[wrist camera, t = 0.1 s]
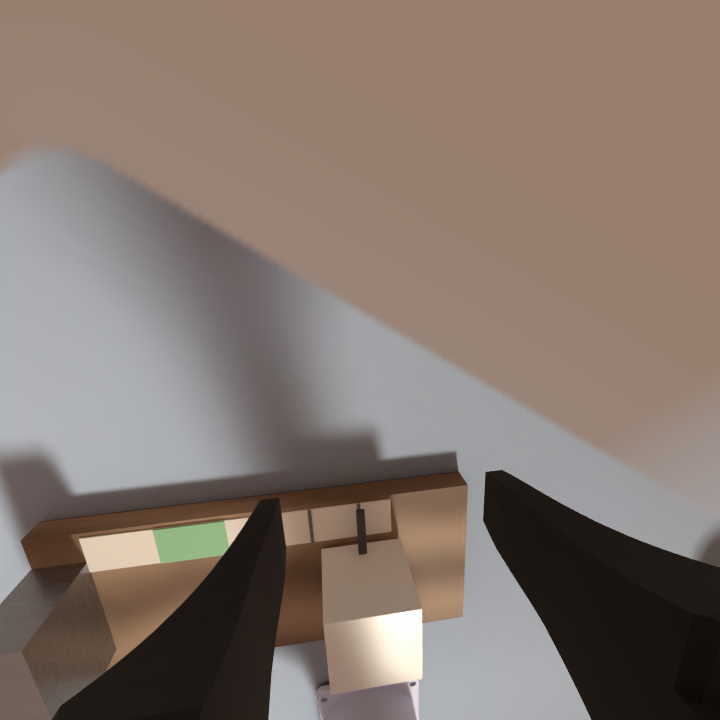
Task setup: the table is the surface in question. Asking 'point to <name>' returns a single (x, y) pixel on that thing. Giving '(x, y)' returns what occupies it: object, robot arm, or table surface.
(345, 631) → the block
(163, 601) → the gauge track
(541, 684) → the table surface
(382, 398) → the table surface
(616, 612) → the robot arm
